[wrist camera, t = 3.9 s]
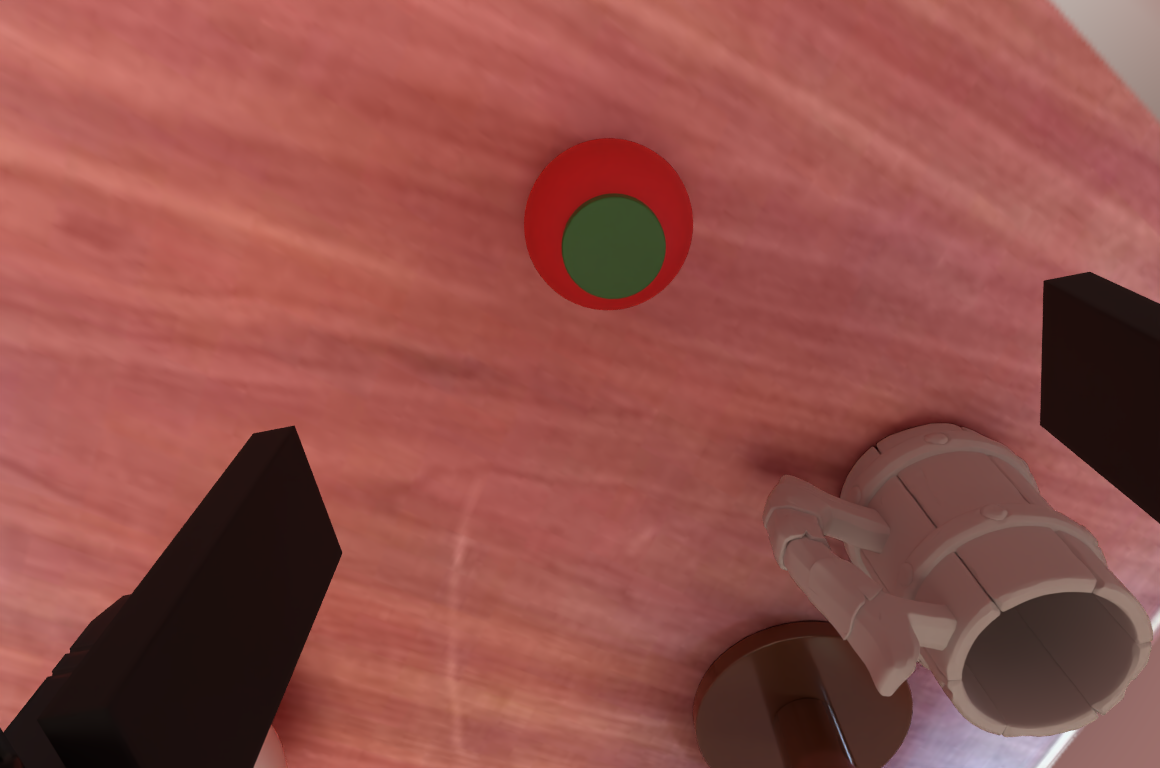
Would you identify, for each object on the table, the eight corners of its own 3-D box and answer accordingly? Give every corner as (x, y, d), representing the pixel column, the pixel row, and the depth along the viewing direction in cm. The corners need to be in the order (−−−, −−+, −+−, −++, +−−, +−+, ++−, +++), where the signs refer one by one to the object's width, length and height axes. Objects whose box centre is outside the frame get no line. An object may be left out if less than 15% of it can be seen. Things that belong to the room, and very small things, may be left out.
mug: (971, 586, 36) (1148, 828, 25) (713, 539, 35) (783, 773, 24) (1047, 435, 34) (1284, 634, 23) (768, 378, 32) (877, 559, 21)
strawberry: (664, 111, 28) (690, 132, 22) (690, 261, 30) (721, 316, 25) (510, 147, 29) (498, 177, 23) (547, 294, 31) (544, 355, 25)
